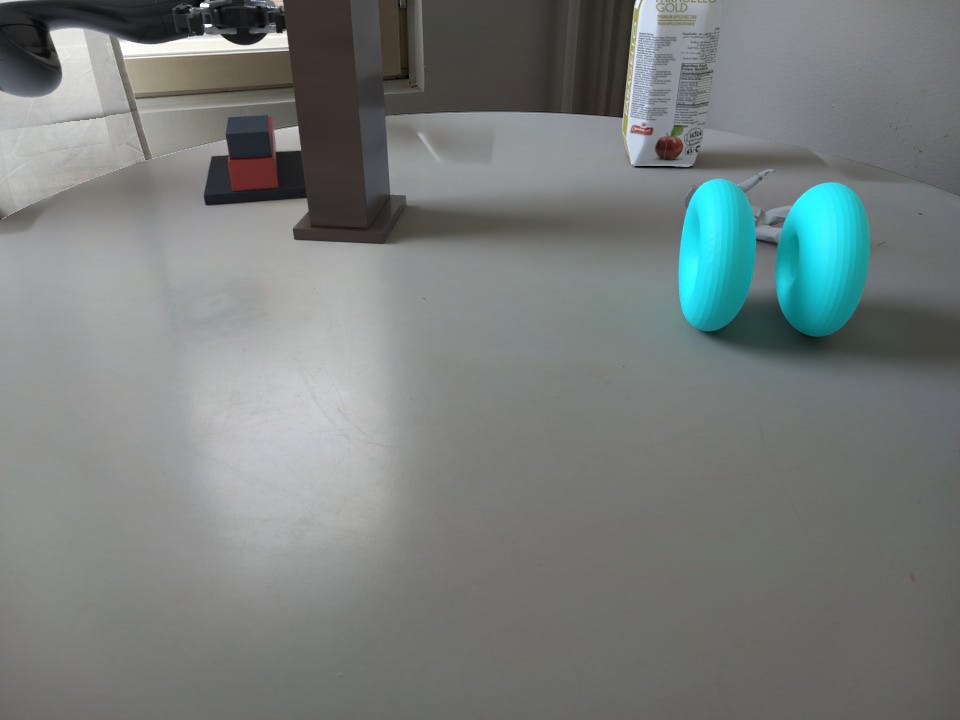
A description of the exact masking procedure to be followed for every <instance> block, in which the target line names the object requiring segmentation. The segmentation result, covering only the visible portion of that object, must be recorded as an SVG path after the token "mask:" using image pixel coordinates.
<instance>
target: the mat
mask: <svg viewBox="0 0 960 720" xmlns="http://www.w3.org/2000/svg"><path fill="white" fill-rule="evenodd" d="M276 156H277V171H278V186H279V188H275V189H261V190H248V191H233V190H232V184H231V178H230V172H229V167H228V157H229V154H227V155H226V154H224V155H211V157H210V162H209V168H208V172H207V176H206V181H205V185H204V191H203V200H204V204H205V206H208V205H210V206H211V205H222V204H223V205H224V204H234V203H235V204H236V203H250V202H263V201H273V200H289V199H299V198H301V199H302V198H307V194H306V186H305V178H304V170H303V162H302V153H301V150H288V151H276Z"/></svg>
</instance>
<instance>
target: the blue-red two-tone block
mask: <svg viewBox="0 0 960 720" xmlns="http://www.w3.org/2000/svg"><path fill="white" fill-rule="evenodd" d="M275 134H276V133H275V128H274V119H273V116H269V115H268V114H263V115H245V116H228V117H227V122H226V129H225V140H226V146H227V152H228V155H229V157H228V167H229V172H230V178H231V184H232V190H233V191H248V190H261V189H275V188H279V186H278V171H277V156H276V152H277V143H276V142H277V141H276V135H275Z"/></svg>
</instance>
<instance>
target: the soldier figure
mask: <svg viewBox="0 0 960 720" xmlns="http://www.w3.org/2000/svg"><path fill="white" fill-rule="evenodd" d="M773 172H774V173H776V172H777V171H776V170H775V169H773V168H765V169H764V170H762V171H760V172H759V173H756V174H755V175H753V176H751V177H749V178H747V179H746V180H743V181H742V182H740V183H736V185H737V186H738V187H740V188H741V189H742V191H743V192H744V193H745V194H746V192H749V191H750V190H752V189H753V188H754V187H755V186H757V184H759V183H760V182H761V181H762V180H763V179H769V177H768V176H767V175H768V174H769V173H773ZM699 187H700V186H698V185H695V184H691V187H690V188H689V190H688V191H687V193H686V197H685V199H684V205H685V208H686V210H687V209H688V206H689V203H690V201H691V198H692V196H693V195H694V193H695V192H696V190H697V189H698V188H699ZM748 200H749V203H750V205H751V208H752V211H753V215H754V220H755V229H756V241H757V240H758V241H764V242H772V243H776V244H778V242H779V238H780V234H781V231H782V227H773V226H775V225H778V224H780V223H784V222H785V220H786V217H787V215H788V213H789V212H790V210H791V208H792V207H793V205H784V206H779V207H773V208H771V209H769V210H765V211H764V210H762V207H761V206H758V205H755V204H751V199H750V198H748Z"/></svg>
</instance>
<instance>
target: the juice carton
mask: <svg viewBox="0 0 960 720" xmlns="http://www.w3.org/2000/svg"><path fill="white" fill-rule="evenodd" d="M723 2H724V0H635V2H634V7H633V15H632V25H631V33H630V34H631V35H630V44H629V45H630V46H629V54H628V55H629V56H628V65H627V74H626V85H625V94H624V105H623V116H622V126H621V130H622V131H621V132H622V140H623V145H624V150H625V154H626V153H627V154H626V155H628V156H627V158H628V157H629V158H628V161H629V162H630V164H631V165H632V164H633V165H646V164H647V165H649V164H693V163H694V164H695V163H696V160H697V156H698V154H699V151H700V149H701V146H702V143H703V139H704V133H705V127H706V120H707V113H708V109H709V108H708V107H709V101H710V95H711V89H712V84H713V83H712V82H713V75H714V69H715V63H716V57H717V51H718V45H719V38H720V31H721V26H722V25H721V24H722V17H723V9H724V8H723V7H724V4H723Z"/></svg>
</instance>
